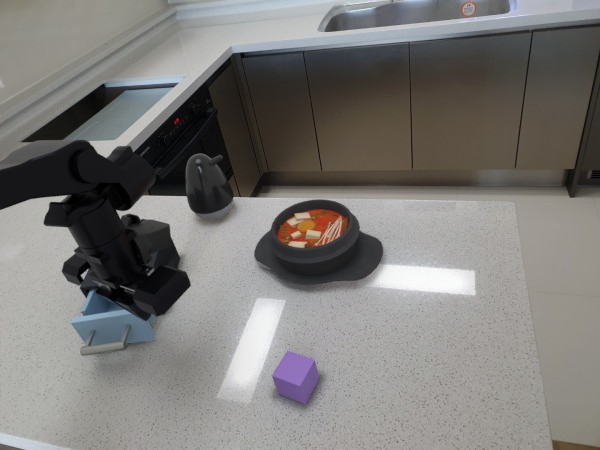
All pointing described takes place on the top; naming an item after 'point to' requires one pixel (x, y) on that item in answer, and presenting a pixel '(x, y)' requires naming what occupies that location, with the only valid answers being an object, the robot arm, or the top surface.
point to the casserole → (318, 245)
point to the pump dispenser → (207, 187)
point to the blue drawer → (109, 326)
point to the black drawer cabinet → (158, 258)
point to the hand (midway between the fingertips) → (147, 318)
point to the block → (296, 377)
